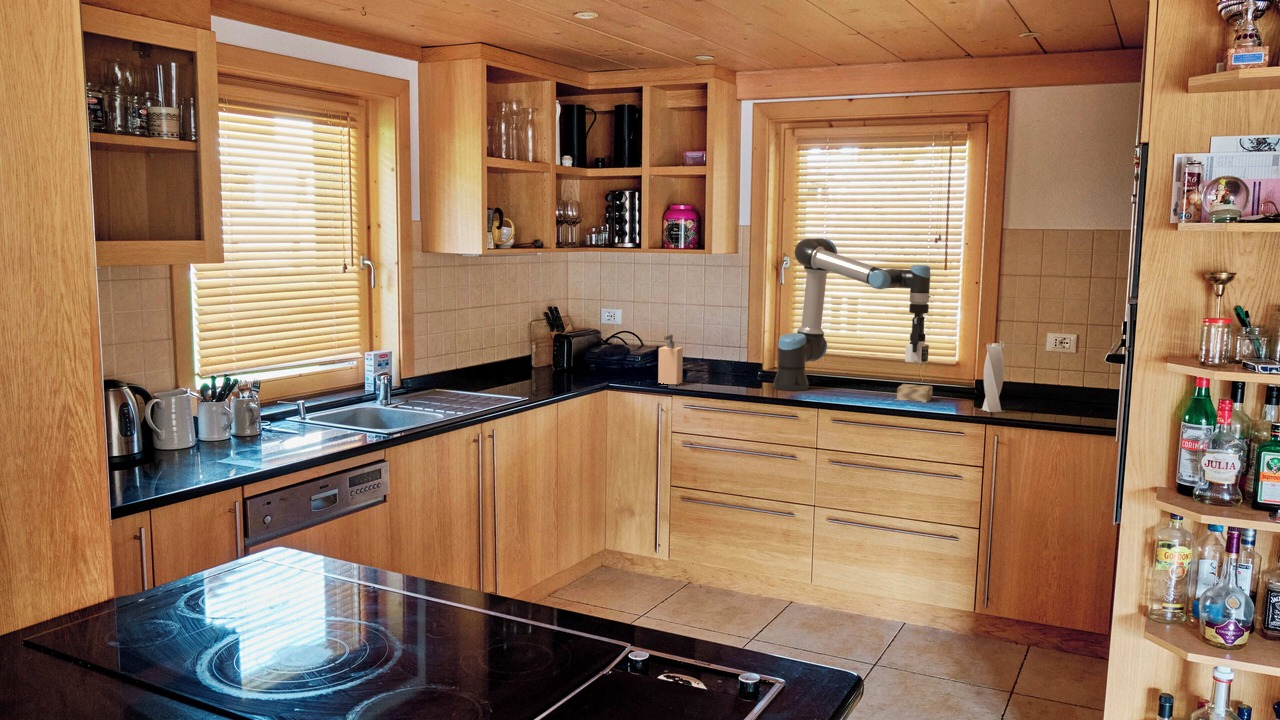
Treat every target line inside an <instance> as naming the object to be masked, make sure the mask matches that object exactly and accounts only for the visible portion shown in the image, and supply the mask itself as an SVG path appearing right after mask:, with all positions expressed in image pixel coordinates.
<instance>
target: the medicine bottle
mask: <svg viewBox="0 0 1280 720" xmlns="http://www.w3.org/2000/svg"><path fill="white" fill-rule="evenodd" d="M911 335H912V332H911V333H910V334H909V343H908V344H906V345H905V350H904V351H905V352H904V354H905V355H904V362H905V363H911V364H912V363H913V364H914V363H915V364H924V363H928V362H929V347H930V345H929V344H926V334H925V332H924V333H919V342H918V344H919V352H918V361H917V360H911V350H912V344H910V342H911Z"/></svg>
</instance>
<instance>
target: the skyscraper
mask: <svg viewBox="0 0 1280 720" xmlns="http://www.w3.org/2000/svg"><path fill="white" fill-rule="evenodd" d="M1004 349H1005V342H1004V340H1000V341H999V343H997V342H995V343H993V342H992V343H986V350H987V353H986V356H985V360H984V365H983V366H984V367H983V387H984V388H983V389H984V394H985V398H984V401H983V405H982V408H979V411H981V410H983V411H982V412H984V411H987V412H1006V411H1005V410H1002V406H1001V402H1000V396H1001V395H1000V394H1001V392H1002V388H1003V383H1004V378H1005V360H1004V353H1003V351H1004ZM987 412H986V413H987Z"/></svg>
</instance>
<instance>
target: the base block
mask: <svg viewBox="0 0 1280 720" xmlns="http://www.w3.org/2000/svg"><path fill="white" fill-rule="evenodd" d="M933 388H934V387H933V386H932V385H924V384H923V385H921V384H920V385H919V384H909V383H908V384H907V383H902V384H901V385H899V386H898V387H897V388H896V401H902V400H910V401H909V402H914V401H922V402H921V403H926V402H927V401H928V402H930V401H931V398H932V399H933ZM928 402H927V403H928Z"/></svg>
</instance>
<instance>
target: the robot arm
mask: <svg viewBox="0 0 1280 720" xmlns="http://www.w3.org/2000/svg"><path fill="white" fill-rule="evenodd" d="M794 257H795V259H796V260H797V263H799V264H800V265H802V266H803V270H804V271H805V272H806V279H805V288H804V298H803V306H802V307H803V309H802V317H801V319H802V320H801V325H800V327H799V328H798V329H797V332H795V333H794V332H792V333H785V334H782V335H781V336H780V337H779V339H778V343H777V344H778V345H777V348H778V349H777V350H778V353H777V355H778V357H777V372H776V375H775V378H774V380H773V384H772V386H773V388H774V390H775V389H776V390H781V391H789V392H790V391H794V392H795V391H796V392H798V391H805V390H806V391H807V390H809V384H810V383H809V381H808V377H807V374H806V363H808V362H816V361H818V360H820V359H821V358H823V357H824V356H825V355H826V353H827V350H828V343H827V340H826V338H825V336H824V335H825V331H824V330H823V329H822V321H823V314H824V313H823V312H824V305H825V304H824V302H825V293H826V285H827V275H828V274H829V273H830V272H831V273H835V274H837V275H840V276H843V277H846V278H849V279H853V280H856V281H858V282H860V283H863V284H864V283H865V284H867V285H870V287H872V288H873V289H875V290H884V289H886V290H887V289H896V288H898V289H899V288H900V289H901V288H903V289H910V291H909V303H910V304H909V308H908V309H909V311H908V312H909V313H910V314H914V316H913V317H912V319H911V321H912V323H911V333H912V335H911V342H910V341H909V344H912V350H911V360H917V361H918V352H919V344H918V342H919V333H924V334H925V316H924V315H925V314H928V313H929V308H930V306H929V302H930V299H931V295H930V288H931V287H930V286H931V267H930V266H929V265H926V264H924V265H923V264H922V265H921V264H920V265H919V264H912V266H911V268H910V269H902V268H901V269H899V268H887V269H883V268H879V267H876V266H875V265H871V264H868V263H864V262H861V261H859V260H856V259H852V258H850V257H847V256H844V255H840V254H838V249H837V247H836V245H835V243H833V241H831V240H830V239H828V238H822V237H821V238H818V237H817V238H805V239H802V240H801V241H799V242H798V243H797V245H795V248H794Z"/></svg>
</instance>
